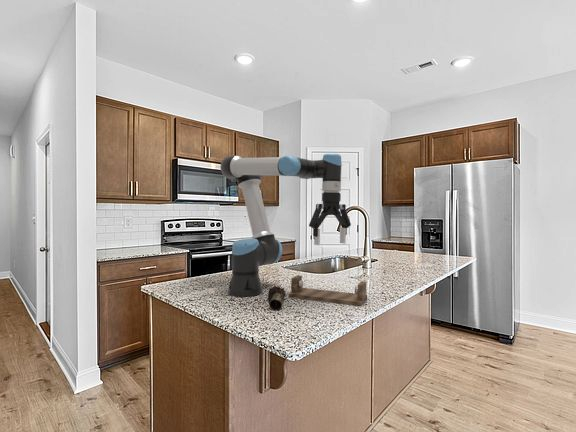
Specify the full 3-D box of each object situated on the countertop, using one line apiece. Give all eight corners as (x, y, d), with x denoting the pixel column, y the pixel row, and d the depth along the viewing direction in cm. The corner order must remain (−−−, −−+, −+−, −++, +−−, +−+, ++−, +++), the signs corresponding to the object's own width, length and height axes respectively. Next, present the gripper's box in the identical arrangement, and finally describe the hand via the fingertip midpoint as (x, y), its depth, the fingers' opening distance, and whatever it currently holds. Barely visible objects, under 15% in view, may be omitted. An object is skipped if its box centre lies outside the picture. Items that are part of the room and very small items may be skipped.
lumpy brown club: (282, 311, 119) (282, 295, 119) (264, 310, 119) (263, 295, 119) (286, 297, 136) (286, 284, 136) (270, 297, 137) (270, 284, 137)
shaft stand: (288, 297, 136) (288, 279, 136) (299, 290, 147) (299, 274, 147) (361, 306, 124) (361, 286, 124) (367, 298, 135) (367, 280, 134)
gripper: (312, 190, 122) (311, 246, 123) (360, 193, 136) (358, 243, 136) (301, 191, 129) (299, 244, 129) (347, 193, 142) (346, 241, 143)
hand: (330, 244), depth 133 cm, fingers open, 13 cm apart
